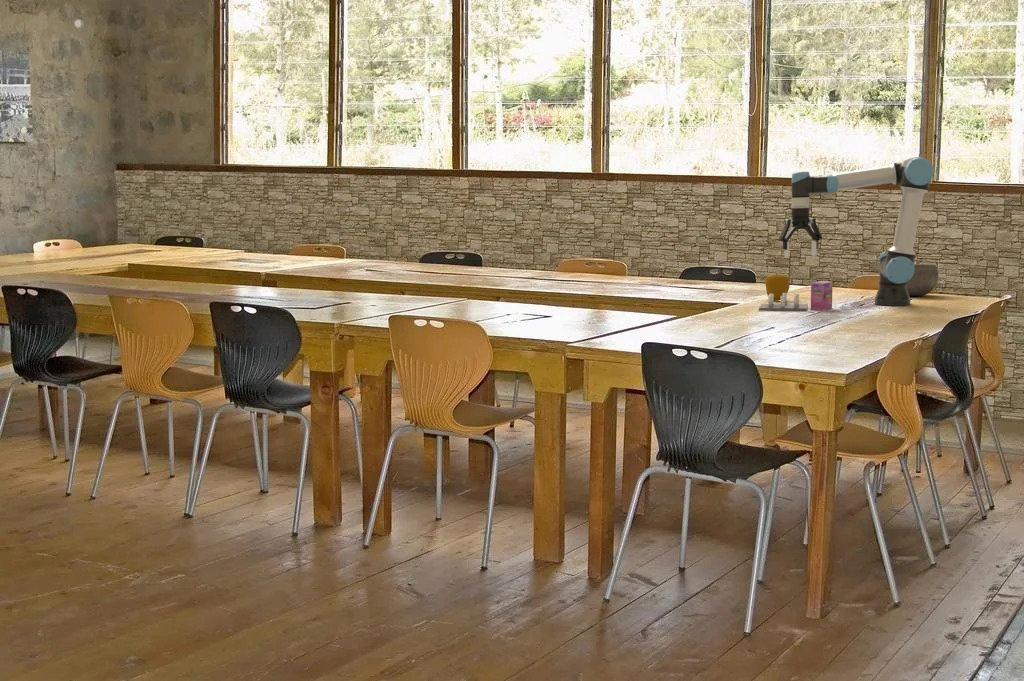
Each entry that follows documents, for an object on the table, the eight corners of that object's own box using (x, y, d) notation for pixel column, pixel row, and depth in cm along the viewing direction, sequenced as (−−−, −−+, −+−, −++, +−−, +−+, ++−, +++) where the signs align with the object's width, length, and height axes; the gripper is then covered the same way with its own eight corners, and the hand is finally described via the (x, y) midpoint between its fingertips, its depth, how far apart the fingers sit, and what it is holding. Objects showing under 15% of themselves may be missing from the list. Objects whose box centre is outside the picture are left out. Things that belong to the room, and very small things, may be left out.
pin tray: (808, 307, 558) (808, 292, 557) (806, 311, 541) (806, 296, 540) (761, 306, 563) (761, 292, 562) (758, 310, 546) (758, 296, 545)
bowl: (900, 293, 613) (900, 262, 611) (943, 295, 601) (944, 263, 599) (885, 297, 596) (885, 265, 594) (929, 298, 584) (930, 266, 582)
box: (822, 310, 542) (823, 283, 540) (810, 310, 545) (810, 282, 544) (832, 308, 550) (833, 281, 549) (820, 307, 554) (820, 280, 552)
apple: (792, 299, 591) (792, 272, 590) (784, 302, 582) (784, 274, 581) (770, 299, 597) (770, 271, 595) (761, 301, 588) (761, 273, 586)
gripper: (820, 206, 558) (820, 254, 560) (770, 208, 549) (770, 257, 552) (830, 206, 550) (830, 255, 553) (779, 208, 542) (780, 258, 545)
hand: (800, 256), depth 553 cm, fingers open, 13 cm apart
